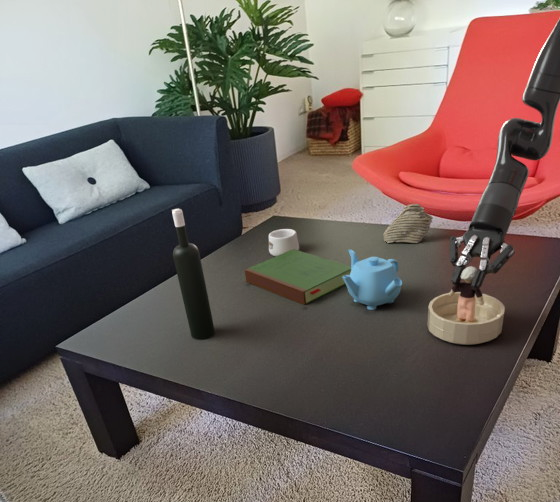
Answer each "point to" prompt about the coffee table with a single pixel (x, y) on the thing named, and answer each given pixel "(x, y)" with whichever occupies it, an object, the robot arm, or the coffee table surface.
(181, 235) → the wine bottle
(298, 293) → the hardcover book
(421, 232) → the fossil tooth
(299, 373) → the coffee table surface
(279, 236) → the mug
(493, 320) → the bowl
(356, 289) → the teapot
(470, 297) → the grandmother figurine
